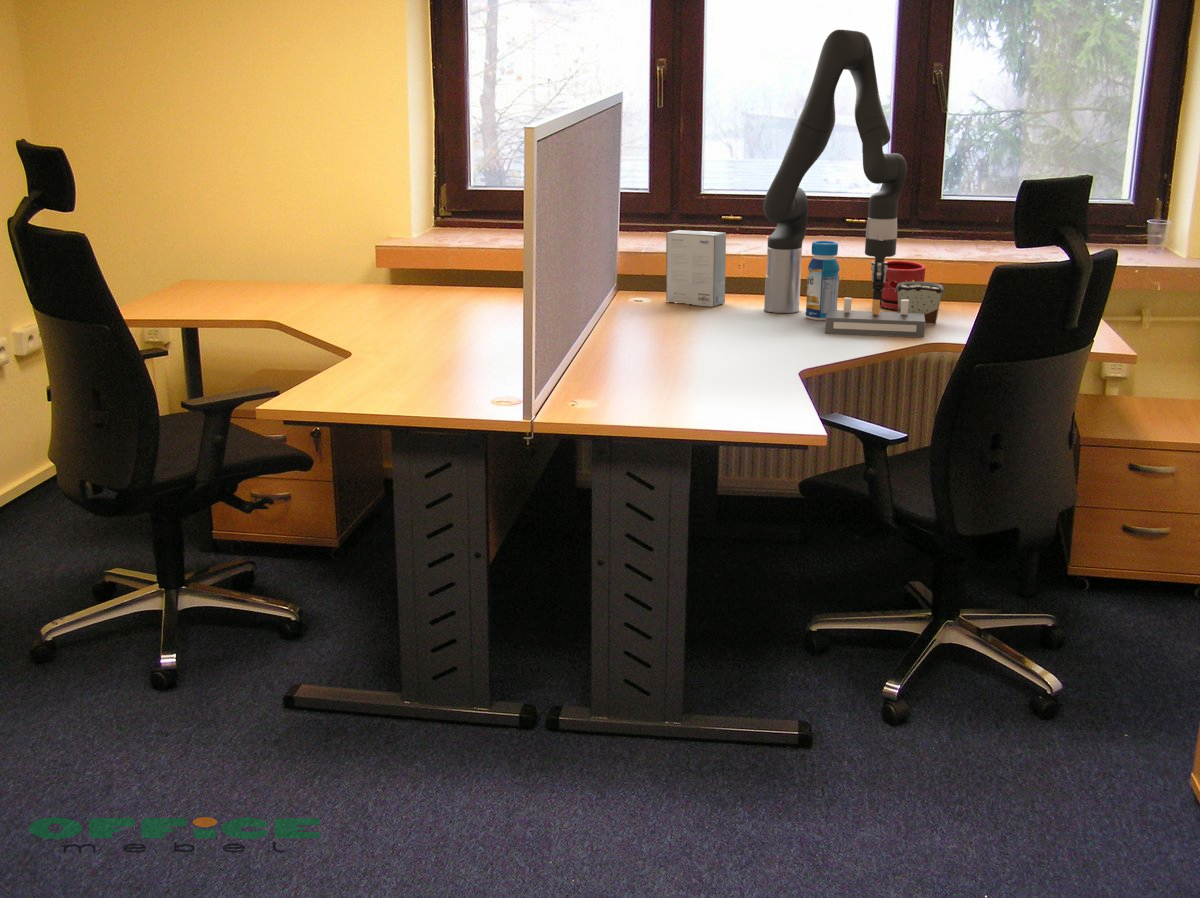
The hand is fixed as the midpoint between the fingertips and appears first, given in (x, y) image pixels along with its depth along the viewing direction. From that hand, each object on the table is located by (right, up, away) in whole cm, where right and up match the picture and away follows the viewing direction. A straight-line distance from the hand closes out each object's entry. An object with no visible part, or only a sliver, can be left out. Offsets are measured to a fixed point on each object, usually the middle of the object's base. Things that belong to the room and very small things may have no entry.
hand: (876, 305), depth 296 cm
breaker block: (-1, -7, -1) cm, 7 cm away
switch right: (+6, -2, -2) cm, 7 cm away
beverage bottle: (-11, -2, +15) cm, 19 cm away
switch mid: (-1, -2, -2) cm, 3 cm away
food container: (+13, -3, +10) cm, 17 cm away
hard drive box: (-43, +5, +36) cm, 56 cm away
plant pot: (+13, +3, +28) cm, 31 cm away
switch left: (-7, -2, +1) cm, 8 cm away
